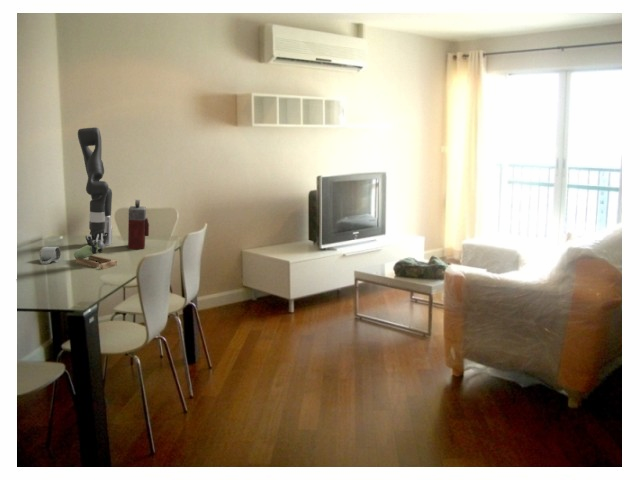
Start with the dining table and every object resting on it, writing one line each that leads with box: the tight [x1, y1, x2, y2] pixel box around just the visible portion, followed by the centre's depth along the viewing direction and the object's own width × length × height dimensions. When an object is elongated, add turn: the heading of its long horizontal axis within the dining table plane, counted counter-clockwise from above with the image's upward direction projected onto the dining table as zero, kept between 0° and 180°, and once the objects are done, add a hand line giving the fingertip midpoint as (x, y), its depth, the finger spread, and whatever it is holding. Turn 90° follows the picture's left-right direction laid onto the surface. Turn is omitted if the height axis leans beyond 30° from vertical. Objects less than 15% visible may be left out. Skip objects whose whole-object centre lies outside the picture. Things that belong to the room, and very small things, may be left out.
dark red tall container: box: [127, 199, 150, 250], centre depth 348 cm, size 9×11×28 cm
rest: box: [75, 254, 118, 270], centre depth 310 cm, size 10×18×2 cm, turn 65°
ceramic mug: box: [39, 246, 62, 265], centre depth 307 cm, size 11×8×8 cm
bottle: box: [73, 241, 105, 259], centre depth 311 cm, size 6×6×18 cm
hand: (97, 253), depth 309 cm, fingers closed on bottle, 3 cm apart
